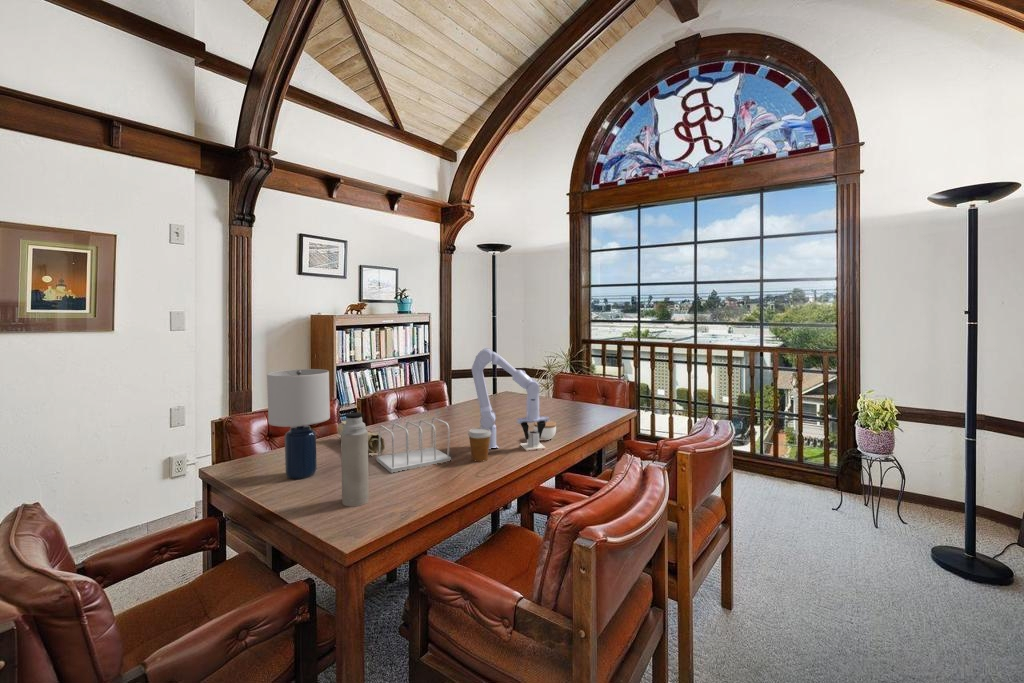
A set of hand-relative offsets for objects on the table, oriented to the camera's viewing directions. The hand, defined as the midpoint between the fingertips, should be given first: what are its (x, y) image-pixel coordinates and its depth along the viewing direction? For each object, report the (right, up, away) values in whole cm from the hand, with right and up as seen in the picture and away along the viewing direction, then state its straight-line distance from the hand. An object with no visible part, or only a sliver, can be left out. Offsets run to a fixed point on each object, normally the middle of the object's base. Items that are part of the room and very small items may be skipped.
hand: (532, 438), depth 200 cm
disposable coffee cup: (-23, -5, -16) cm, 28 cm away
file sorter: (-49, -6, -19) cm, 53 cm away
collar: (0, -3, 0) cm, 3 cm away
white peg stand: (0, -4, 0) cm, 4 cm away
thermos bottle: (-59, -8, -58) cm, 83 cm away
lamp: (-87, -6, -35) cm, 94 cm away
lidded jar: (+6, -4, +14) cm, 16 cm away
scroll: (-78, -5, +1) cm, 78 cm away
